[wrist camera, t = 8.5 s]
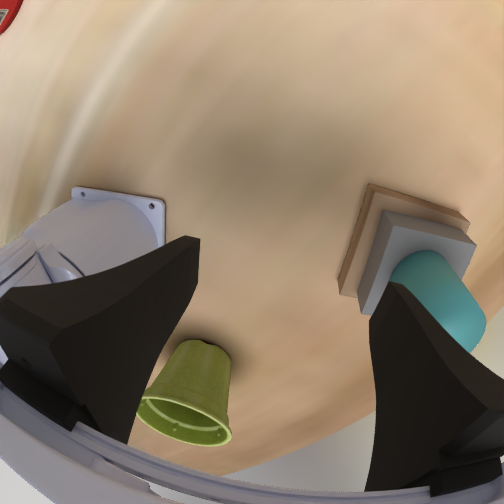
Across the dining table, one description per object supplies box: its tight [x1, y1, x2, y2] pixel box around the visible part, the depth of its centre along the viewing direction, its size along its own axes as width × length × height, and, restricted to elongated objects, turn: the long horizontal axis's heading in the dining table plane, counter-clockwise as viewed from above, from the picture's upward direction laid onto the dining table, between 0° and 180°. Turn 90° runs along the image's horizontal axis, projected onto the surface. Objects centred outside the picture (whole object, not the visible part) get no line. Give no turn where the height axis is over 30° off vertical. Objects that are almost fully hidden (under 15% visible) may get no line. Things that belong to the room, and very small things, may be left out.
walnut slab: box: [338, 184, 470, 298], centre depth 19 cm, size 8×8×2 cm
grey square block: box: [357, 210, 477, 315], centre depth 17 cm, size 6×6×2 cm
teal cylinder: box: [390, 250, 486, 353], centre depth 14 cm, size 4×4×6 cm
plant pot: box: [136, 340, 232, 446], centre depth 26 cm, size 9×9×9 cm
